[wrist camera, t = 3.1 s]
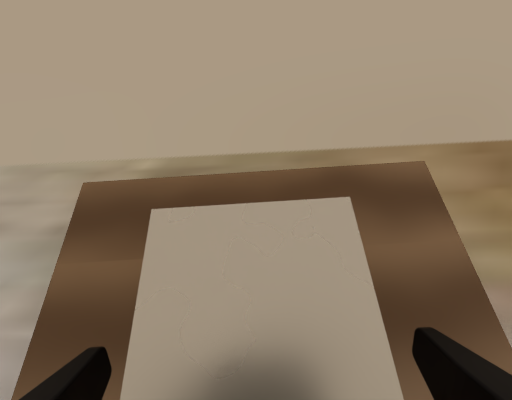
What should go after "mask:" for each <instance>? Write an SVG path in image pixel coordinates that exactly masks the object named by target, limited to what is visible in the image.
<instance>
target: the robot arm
mask: <svg viewBox="0 0 512 400" xmlns="http://www.w3.org/2000/svg"><path fill="white" fill-rule="evenodd" d="M412 354H413V357H414V360H415V362H416V364H417V366H418V368H419V370H420V372H421V374H422V376H423V378H424V380H425V382H426V384H427V387H428V389H429V391H430V393H431V395H432V397H433V399H434V400H512V375H511V374H509V373H508V372H506V371H504V370H503V369H501V368H499V367H498V366H496V365H494V364H493V363H491V362H489V361H488V360H486V359H484V358H483V357H481V356H479V355H478V354H476V353H474V352H473V351H471V350H469V349H468V348H466V347H464V346H463V345H461V344H459V343H458V342H456V341H454V340H453V339H451V338H449V337H448V336H446V335H444V334H443V333H441V332H439V331H438V330H436V329H434V328H432V327H418V328H416V329H415V332H414V338H413V345H412ZM111 372H112V367H111V363H110V360H109V356H108V353H107V350H106V348H105V347H103V346H98V347H89V348H87V349H86V350H85V351H83V352H82V353H81V354H79V355H78V356H76V357H75V358H74V359H72V360H71V361H70V362H68V363H67V364H66V365H64V366H63V367H62V368H60V369H59V370H58V371H56V372H55V373H54V374H52V375H51V376H50V377H48V378H47V379H46V380H44V381H43V382H42V383H40V384H39V385H38V386H36V387H35V388H33V389H32V390H31V391H29V392H28V393H27V394H25V395H24V396H23V397H21V398H20V399H19V400H102V398H103V396H104V393H105V390H106V388H107V385H108V382H109V380H110V377H111Z"/></svg>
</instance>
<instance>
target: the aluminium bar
mask: <svg viewBox="0 0 512 400" xmlns="http://www.w3.org/2000/svg"><path fill="white" fill-rule="evenodd" d="M120 400H404V399H403V395H402V391H401V387H400V384H399V380H398V376H397V372H396V368H395V365H394V361H393V357H392V353H391V350H390V346H389V342H388V338H387V335H386V331H385V327H384V323H383V320H382V316H381V312H380V308H379V304H378V301H377V297H376V293H375V289H374V286H373V282H372V278H371V274H370V271H369V267H368V263H367V259H366V256H365V252H364V248H363V244H362V240H361V237H360V233H359V229H358V225H357V222H356V218H355V214H354V210H353V207H352V203H351V199H350V197H338V198H322V199H306V200H290V201H274V202H258V203H242V204H227V205H211V206H195V207H179V208H163V209H151V215H150V221H149V227H148V233H147V239H146V245H145V251H144V257H143V263H142V270H141V276H140V282H139V288H138V294H137V300H136V306H135V312H134V318H133V324H132V330H131V336H130V342H129V348H128V354H127V360H126V366H125V372H124V378H123V384H122V390H121V396H120Z"/></svg>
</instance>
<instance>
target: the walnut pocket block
mask: <svg viewBox="0 0 512 400" xmlns="http://www.w3.org/2000/svg"><path fill="white" fill-rule="evenodd" d="M338 197H350V199H351V203H352V207H353V210H354V214H355V218H356V222H357V225H358V229H359V233H360V237H361V240H362V244H363V248H364V252H365V256H366V259H367V263H368V267H369V271H370V274H371V278H372V282H373V286H374V289H375V293H376V297H377V301H378V304H379V308H380V312H381V316H382V320H383V323H384V327H385V331H386V335H387V338H388V342H389V346H390V350H391V353H392V357H393V361H394V365H395V368H396V372H397V376H398V380H399V384H400V387H401V391H402V395H403V399H404V400H434V399H433V397H432V395H431V393H430V391H429V389H428V387H427V384H426V382H425V380H424V378H423V376H422V374H421V372H420V370H419V368H418V366H417V364H416V362H415V360H414V357H413V354H412V345H413V338H414V332H415V329H416V328H418V327H432V328H434V329H436V330H438V331H439V332H441V333H443V334H444V335H446V336H448V337H449V338H451V339H453V340H454V341H456V342H458V343H459V344H461V345H463V346H464V347H466V348H468V349H469V350H471V351H473V352H474V353H476V354H478V355H479V356H481V357H483V358H484V359H486V360H488V361H489V362H491V363H493V364H494V365H496V366H498V367H499V368H501V369H503V370H504V371H506V372H508V373H509V374H511V375H512V348H511V346H510V344H509V342H508V339H507V337H506V335H505V333H504V331H503V329H502V327H501V324H500V322H499V320H498V318H497V316H496V314H495V312H494V309H493V307H492V305H491V303H490V301H489V299H488V297H487V294H486V292H485V290H484V288H483V286H482V284H481V282H480V279H479V277H478V275H477V273H476V271H475V269H474V267H473V264H472V262H471V260H470V258H469V256H468V254H467V252H466V249H465V247H464V245H463V243H462V241H461V239H460V236H459V234H458V232H457V230H456V228H455V226H454V224H453V221H452V219H451V217H450V215H449V213H448V211H447V209H446V206H445V204H444V202H443V200H442V198H441V196H440V194H439V191H438V189H437V187H436V185H435V183H434V181H433V179H432V176H431V174H430V172H429V170H428V168H427V166H426V164H425V161H416V162H401V163H385V164H369V165H354V166H338V167H322V168H307V169H291V170H275V171H260V172H244V173H228V174H213V175H197V176H181V177H166V178H150V179H134V180H119V181H103V182H87V183H83V185H82V188H81V191H80V194H79V197H78V200H77V203H76V206H75V209H74V212H73V215H72V218H71V221H70V224H69V227H68V230H67V233H66V236H65V239H64V242H63V245H62V248H61V251H60V254H59V257H58V260H57V263H56V266H55V269H54V272H53V275H52V278H51V281H50V284H49V287H48V290H47V294H46V297H45V300H44V303H43V306H42V309H41V312H40V315H39V318H38V321H37V324H36V327H35V330H34V333H33V336H32V339H31V342H30V345H29V348H28V351H27V354H26V357H25V360H24V363H23V366H22V369H21V372H20V375H19V378H18V381H17V384H16V387H15V390H14V393H13V396H12V399H11V400H19V399H20V398H21V397H23V396H24V395H25V394H27V393H28V392H29V391H31V390H32V389H33V388H35V387H36V386H38V385H39V384H40V383H42V382H43V381H44V380H46V379H47V378H48V377H50V376H51V375H52V374H54V373H55V372H56V371H58V370H59V369H60V368H62V367H63V366H64V365H66V364H67V363H68V362H70V361H71V360H72V359H74V358H75V357H76V356H78V355H79V354H81V353H82V352H83V351H85V350H86V349H87V348H89V347H98V346H103V347H105V348H106V350H107V353H108V356H109V360H110V363H111V367H112V372H111V377H110V380H109V382H108V385H107V388H106V390H105V393H104V396H103V398H102V400H120V396H121V390H122V384H123V378H124V372H125V366H126V360H127V354H128V348H129V342H130V336H131V330H132V324H133V318H134V312H135V306H136V300H137V294H138V288H139V282H140V276H141V270H142V263H143V257H144V251H145V245H146V239H147V233H148V227H149V221H150V215H151V209H163V208H179V207H195V206H211V205H227V204H242V203H258V202H274V201H290V200H306V199H322V198H338Z"/></svg>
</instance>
